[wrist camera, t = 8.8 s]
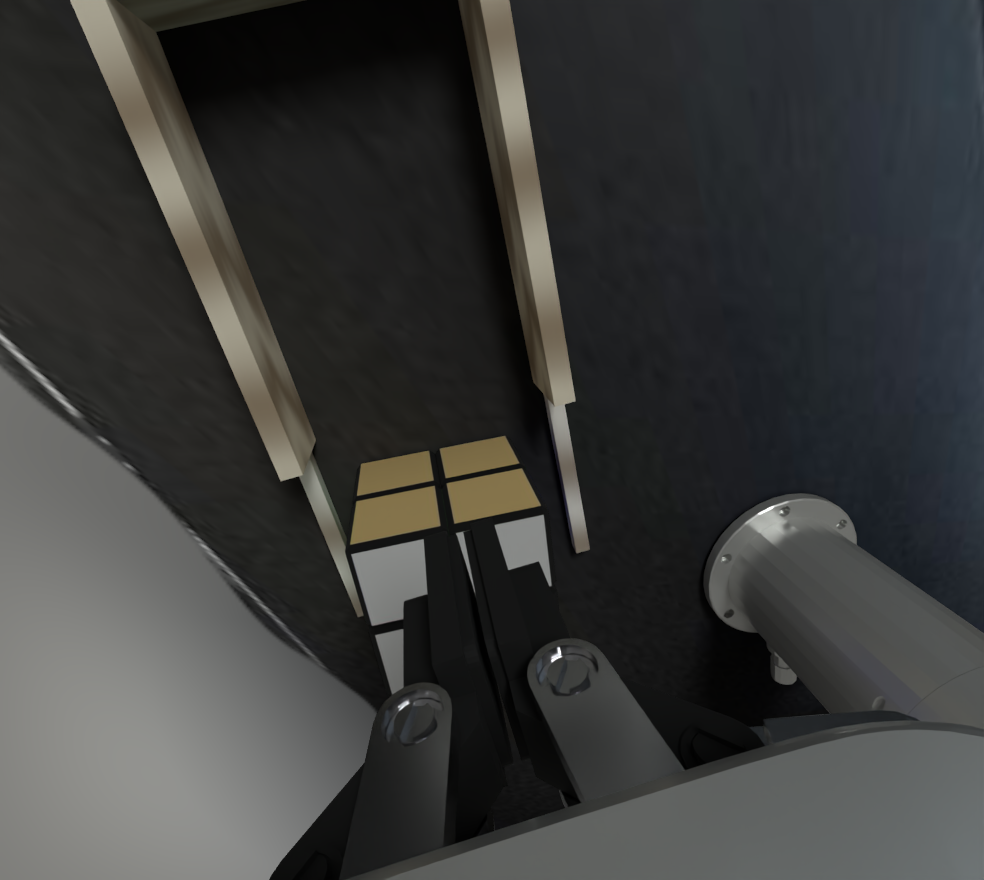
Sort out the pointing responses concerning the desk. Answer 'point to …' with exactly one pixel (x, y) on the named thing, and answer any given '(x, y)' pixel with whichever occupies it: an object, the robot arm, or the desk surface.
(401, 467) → the puzzle cube
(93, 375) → the desk surface
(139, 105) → the wooden frame
